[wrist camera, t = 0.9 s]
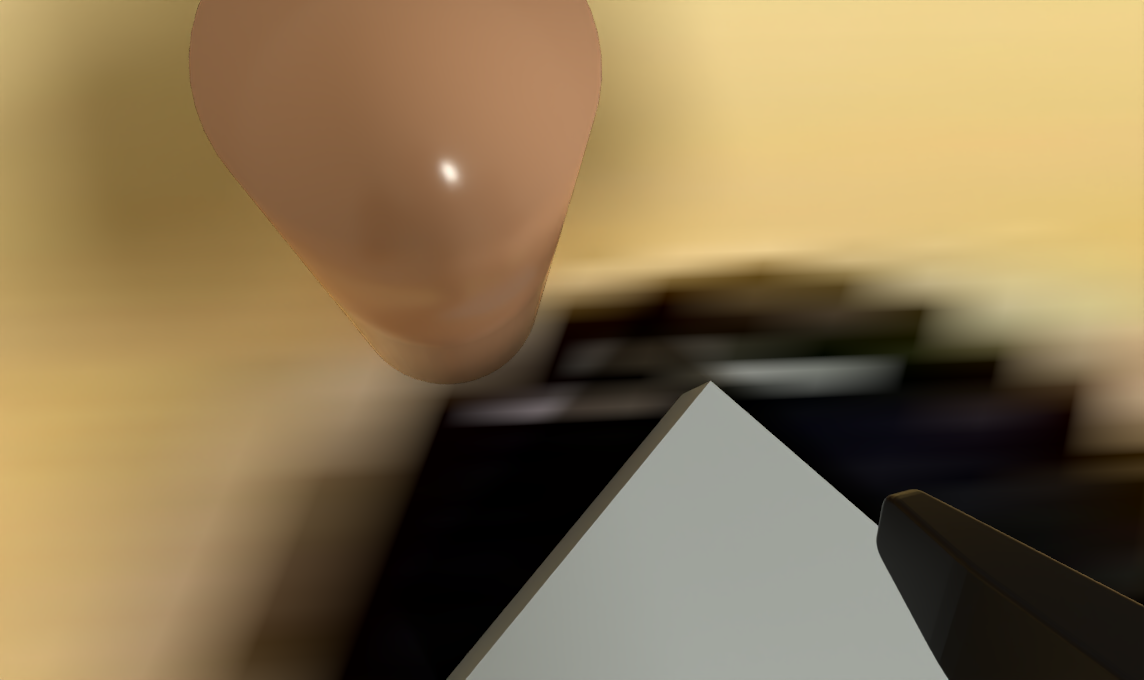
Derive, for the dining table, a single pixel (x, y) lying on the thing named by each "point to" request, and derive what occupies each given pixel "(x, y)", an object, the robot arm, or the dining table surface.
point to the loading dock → (709, 572)
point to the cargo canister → (408, 156)
